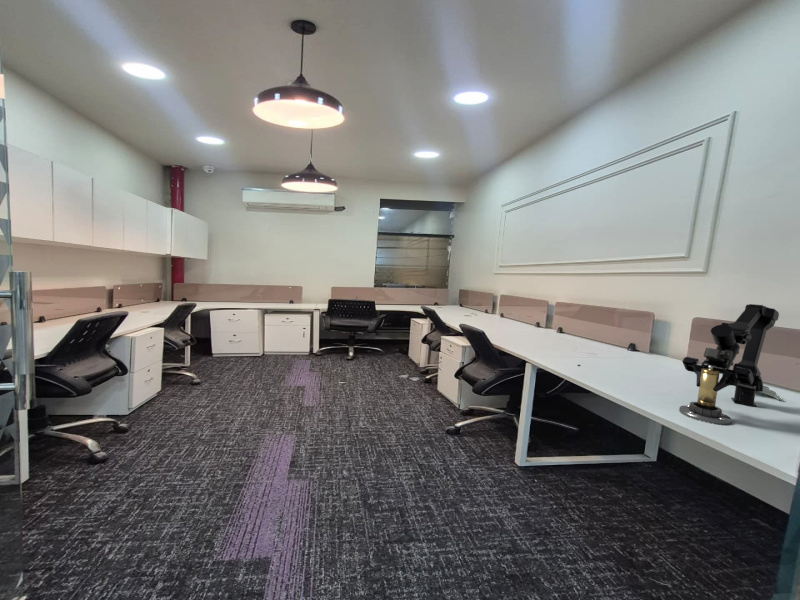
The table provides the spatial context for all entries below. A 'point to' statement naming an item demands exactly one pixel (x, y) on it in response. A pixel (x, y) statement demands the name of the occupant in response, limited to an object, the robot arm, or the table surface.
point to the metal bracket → (770, 392)
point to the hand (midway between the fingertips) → (706, 388)
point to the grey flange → (705, 414)
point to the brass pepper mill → (708, 387)
